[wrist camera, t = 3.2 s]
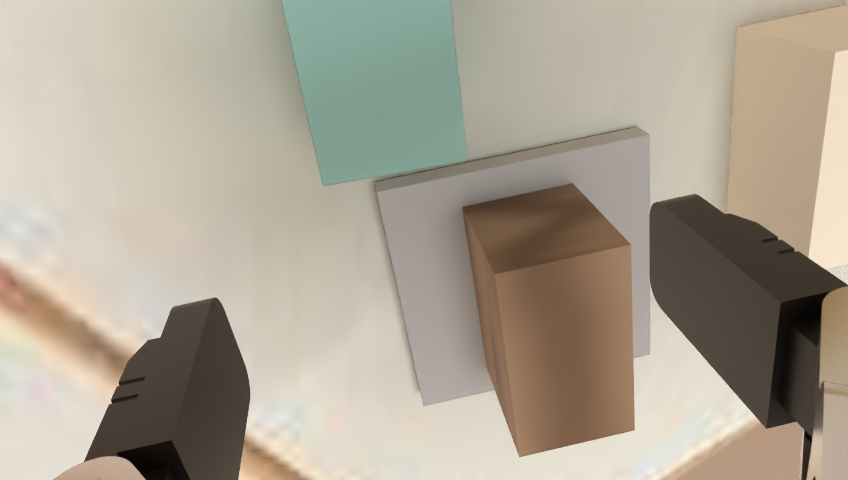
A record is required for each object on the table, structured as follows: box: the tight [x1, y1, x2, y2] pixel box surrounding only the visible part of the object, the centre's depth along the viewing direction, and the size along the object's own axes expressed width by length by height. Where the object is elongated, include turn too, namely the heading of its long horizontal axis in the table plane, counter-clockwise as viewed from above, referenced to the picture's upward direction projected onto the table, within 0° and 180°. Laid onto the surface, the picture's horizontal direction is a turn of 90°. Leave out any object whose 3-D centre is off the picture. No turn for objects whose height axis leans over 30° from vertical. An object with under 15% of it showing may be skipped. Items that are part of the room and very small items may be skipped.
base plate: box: [374, 127, 650, 406], centre depth 31 cm, size 12×12×1 cm
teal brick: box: [281, 0, 467, 186], centre depth 22 cm, size 5×9×6 cm, turn 8°
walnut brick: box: [462, 183, 635, 457], centre depth 27 cm, size 5×9×6 cm, turn 10°
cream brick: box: [726, 5, 848, 269], centre depth 27 cm, size 5×9×6 cm, turn 9°
